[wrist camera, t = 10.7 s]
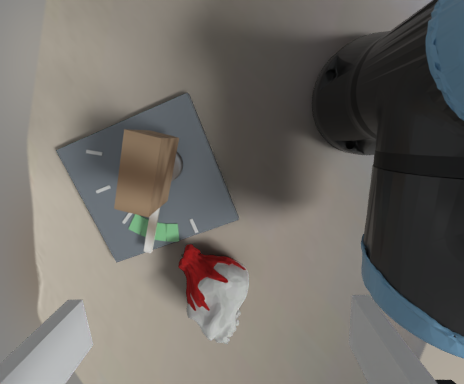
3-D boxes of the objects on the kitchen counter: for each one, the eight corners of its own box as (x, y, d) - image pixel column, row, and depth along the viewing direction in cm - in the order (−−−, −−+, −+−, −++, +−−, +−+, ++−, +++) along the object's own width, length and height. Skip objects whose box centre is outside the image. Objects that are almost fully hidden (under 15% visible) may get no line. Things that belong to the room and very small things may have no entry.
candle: (227, 321, 43) (168, 261, 43) (273, 283, 40) (211, 220, 40) (217, 364, 34) (142, 289, 34) (275, 319, 32) (195, 238, 31)
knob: (153, 129, 35) (118, 127, 25) (188, 138, 35) (167, 140, 25) (136, 243, 39) (100, 279, 29) (167, 250, 39) (141, 289, 30)
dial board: (189, 94, 35) (186, 92, 33) (238, 217, 39) (238, 220, 37) (61, 149, 38) (55, 150, 36) (120, 259, 42) (116, 263, 40)
